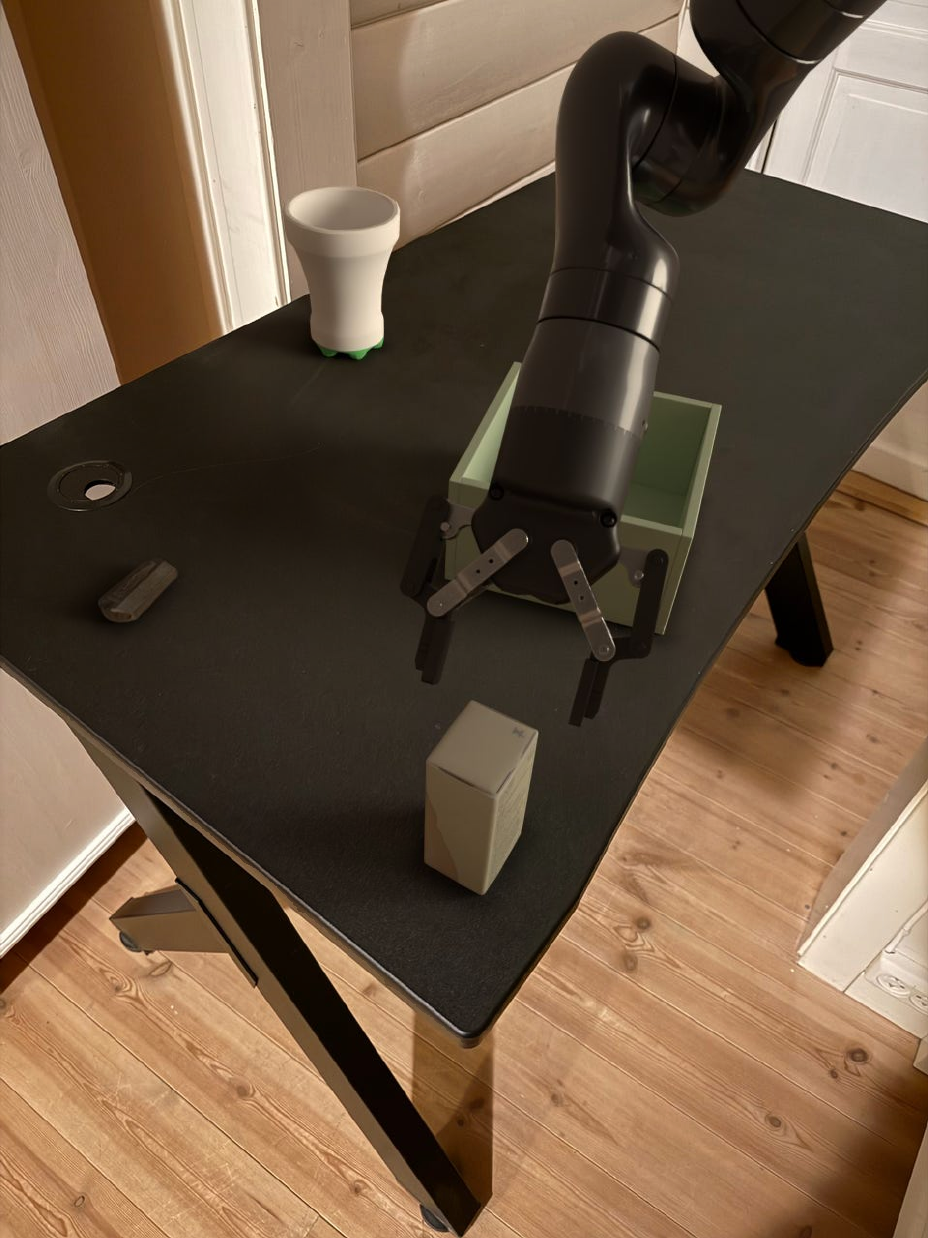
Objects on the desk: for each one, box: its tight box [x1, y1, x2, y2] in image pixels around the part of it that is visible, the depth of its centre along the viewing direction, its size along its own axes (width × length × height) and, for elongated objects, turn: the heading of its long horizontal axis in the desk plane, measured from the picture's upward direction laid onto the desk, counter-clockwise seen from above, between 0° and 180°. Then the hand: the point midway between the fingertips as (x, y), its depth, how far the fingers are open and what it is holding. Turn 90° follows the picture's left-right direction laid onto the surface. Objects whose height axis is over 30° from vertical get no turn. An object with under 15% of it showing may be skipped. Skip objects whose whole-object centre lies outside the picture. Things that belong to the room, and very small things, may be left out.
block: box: [98, 557, 179, 623], centre depth 68 cm, size 4×6×2 cm, turn 153°
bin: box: [444, 361, 723, 636], centre depth 73 cm, size 18×18×10 cm
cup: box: [282, 185, 401, 360], centre depth 91 cm, size 11×11×14 cm
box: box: [423, 699, 539, 896], centre depth 51 cm, size 5×4×11 cm
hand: (501, 703), depth 51 cm, fingers open, 8 cm apart
